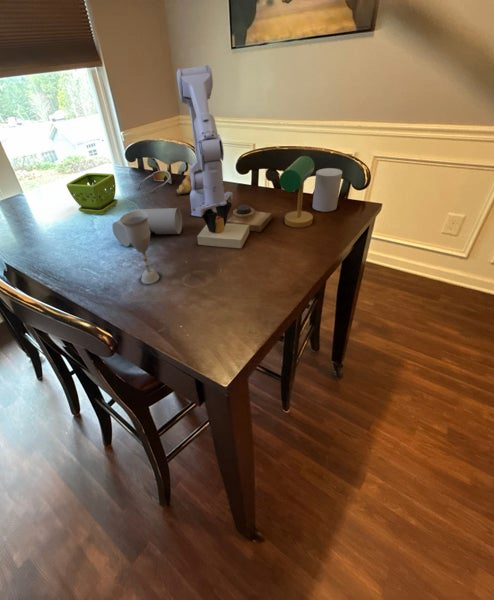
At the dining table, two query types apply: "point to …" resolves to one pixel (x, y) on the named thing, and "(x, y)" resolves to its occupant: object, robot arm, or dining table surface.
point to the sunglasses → (159, 178)
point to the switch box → (251, 219)
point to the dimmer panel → (225, 236)
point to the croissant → (185, 186)
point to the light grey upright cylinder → (326, 189)
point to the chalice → (140, 240)
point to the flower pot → (94, 192)
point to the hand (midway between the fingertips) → (217, 228)
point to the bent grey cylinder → (153, 223)
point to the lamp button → (243, 209)
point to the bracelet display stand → (290, 183)
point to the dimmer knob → (219, 224)
